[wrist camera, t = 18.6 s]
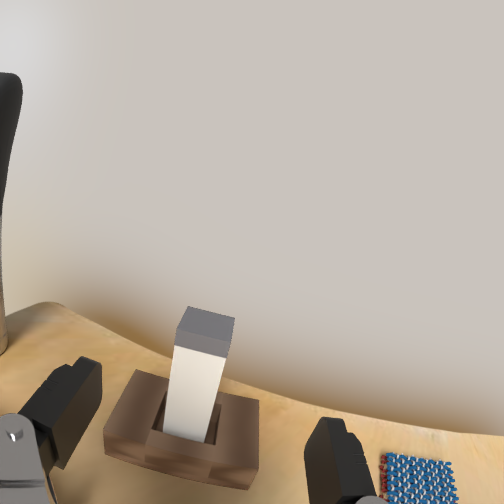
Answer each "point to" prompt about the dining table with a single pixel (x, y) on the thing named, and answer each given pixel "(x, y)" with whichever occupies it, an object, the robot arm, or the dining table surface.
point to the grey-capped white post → (196, 372)
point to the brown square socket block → (180, 449)
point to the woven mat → (416, 480)
